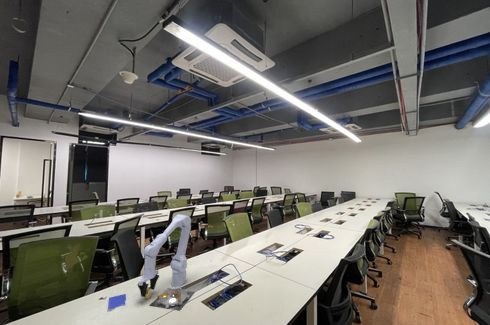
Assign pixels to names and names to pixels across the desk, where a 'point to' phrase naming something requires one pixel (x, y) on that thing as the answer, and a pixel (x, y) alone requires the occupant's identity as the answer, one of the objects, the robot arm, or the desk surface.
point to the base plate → (172, 306)
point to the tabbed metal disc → (173, 297)
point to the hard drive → (116, 302)
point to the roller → (148, 293)
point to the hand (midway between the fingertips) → (147, 292)
